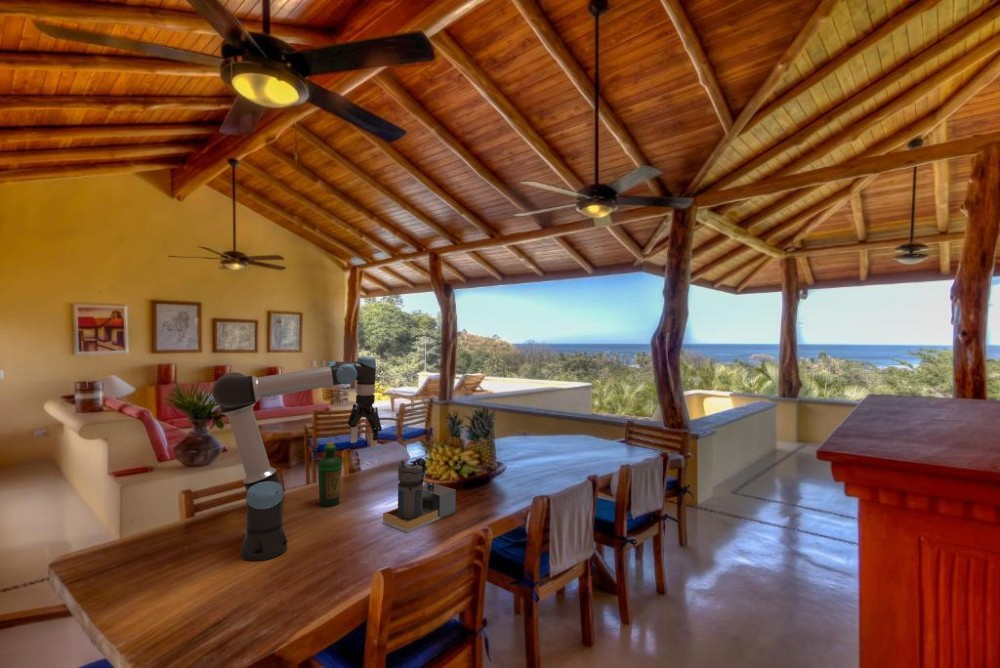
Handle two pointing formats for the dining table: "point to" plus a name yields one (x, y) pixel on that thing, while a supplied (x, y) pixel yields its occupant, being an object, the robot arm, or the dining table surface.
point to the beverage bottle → (410, 489)
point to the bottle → (329, 476)
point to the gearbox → (426, 508)
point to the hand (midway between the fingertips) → (363, 445)
